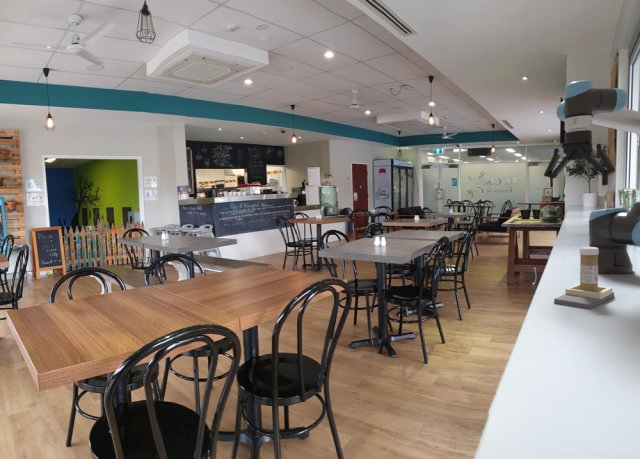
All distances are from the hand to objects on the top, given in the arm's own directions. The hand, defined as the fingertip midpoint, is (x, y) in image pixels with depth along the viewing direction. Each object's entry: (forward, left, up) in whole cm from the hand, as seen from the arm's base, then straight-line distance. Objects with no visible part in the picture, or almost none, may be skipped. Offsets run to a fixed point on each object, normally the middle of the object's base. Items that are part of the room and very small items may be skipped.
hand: (577, 196), depth 137 cm
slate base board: (+21, +10, -29) cm, 37 cm away
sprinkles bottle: (+18, +10, -28) cm, 34 cm away
